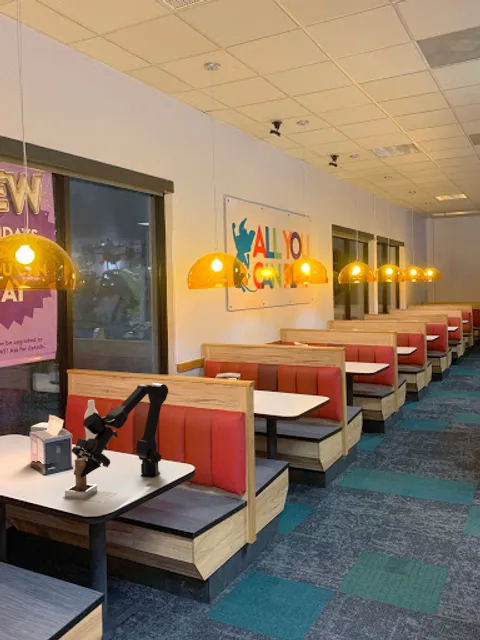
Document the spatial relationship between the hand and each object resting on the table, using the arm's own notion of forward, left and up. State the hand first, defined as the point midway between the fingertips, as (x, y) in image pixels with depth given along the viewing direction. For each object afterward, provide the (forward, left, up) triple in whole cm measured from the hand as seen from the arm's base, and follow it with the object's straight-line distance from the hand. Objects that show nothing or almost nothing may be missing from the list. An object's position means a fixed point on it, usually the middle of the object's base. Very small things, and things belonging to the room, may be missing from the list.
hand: (77, 475), depth 215 cm
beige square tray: (-1, -1, -7) cm, 8 cm away
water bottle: (+30, -61, -9) cm, 69 cm away
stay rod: (-1, -1, -7) cm, 7 cm away
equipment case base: (-5, -1, -9) cm, 10 cm away
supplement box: (+43, -41, -9) cm, 60 cm away
